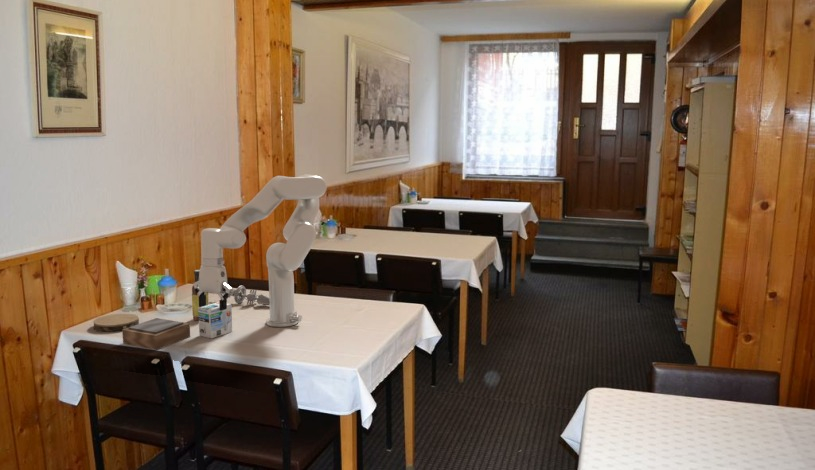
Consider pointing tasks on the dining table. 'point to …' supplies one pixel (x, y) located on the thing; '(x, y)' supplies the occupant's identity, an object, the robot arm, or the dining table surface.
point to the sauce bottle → (197, 298)
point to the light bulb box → (214, 320)
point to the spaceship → (248, 296)
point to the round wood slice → (115, 322)
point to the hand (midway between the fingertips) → (212, 308)
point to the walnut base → (156, 333)
